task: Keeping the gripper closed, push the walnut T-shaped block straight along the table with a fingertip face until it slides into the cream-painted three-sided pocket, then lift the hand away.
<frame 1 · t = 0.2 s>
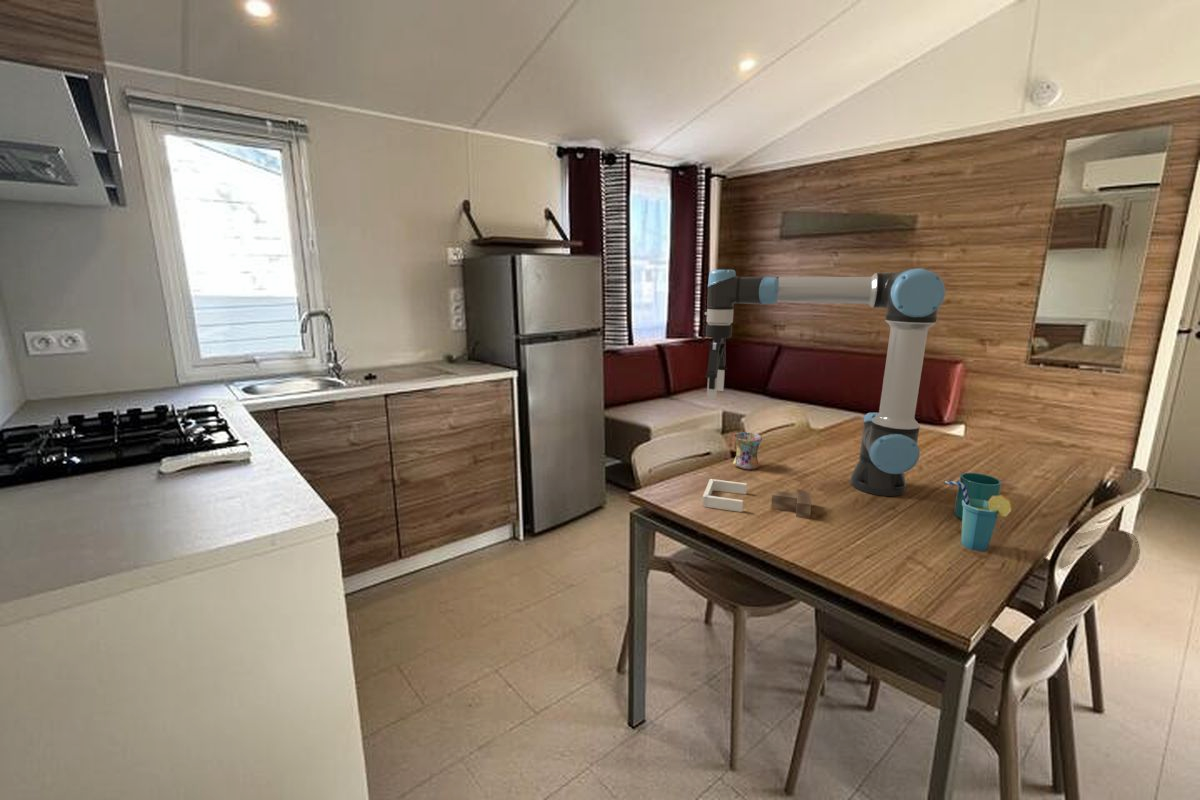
hand: (715, 395, 164), 28 cm above the table, fingers open, 13 cm apart
cup 2: (974, 517, 147), on the table
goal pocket: (726, 499, 156), on the table
t block: (790, 508, 151), on the table
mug: (744, 465, 185), on the table
cup: (969, 545, 131), on the table
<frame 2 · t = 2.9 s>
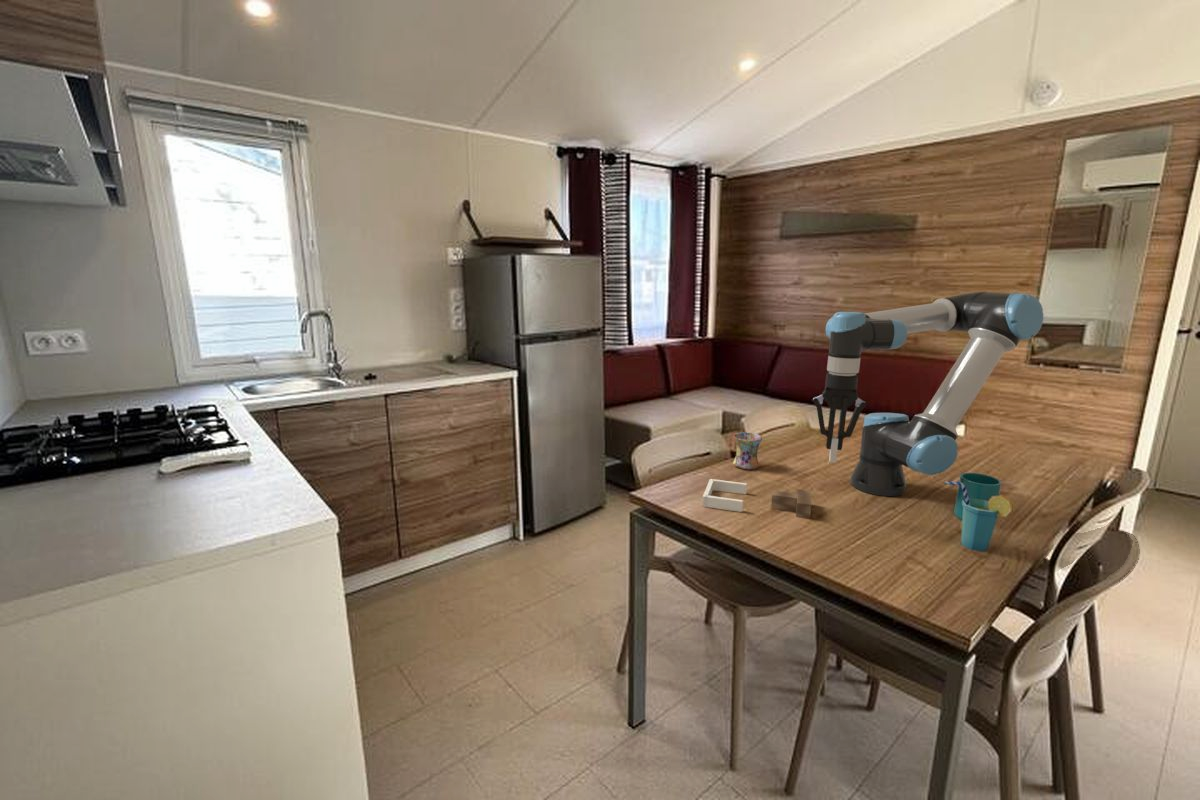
hand: (832, 460, 144), 15 cm above the table, fingers closed
nothing on the table moved.
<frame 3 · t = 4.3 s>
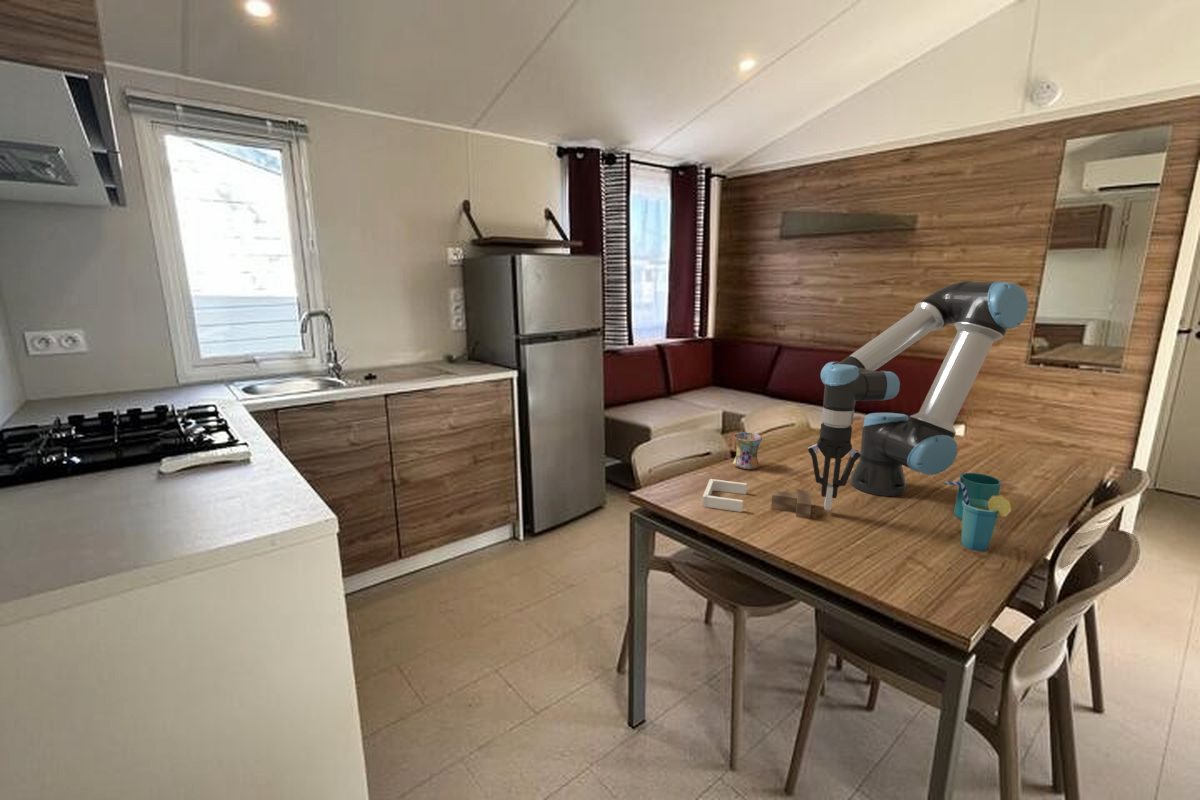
hand: (827, 507, 147), 2 cm above the table, fingers closed
nothing on the table moved.
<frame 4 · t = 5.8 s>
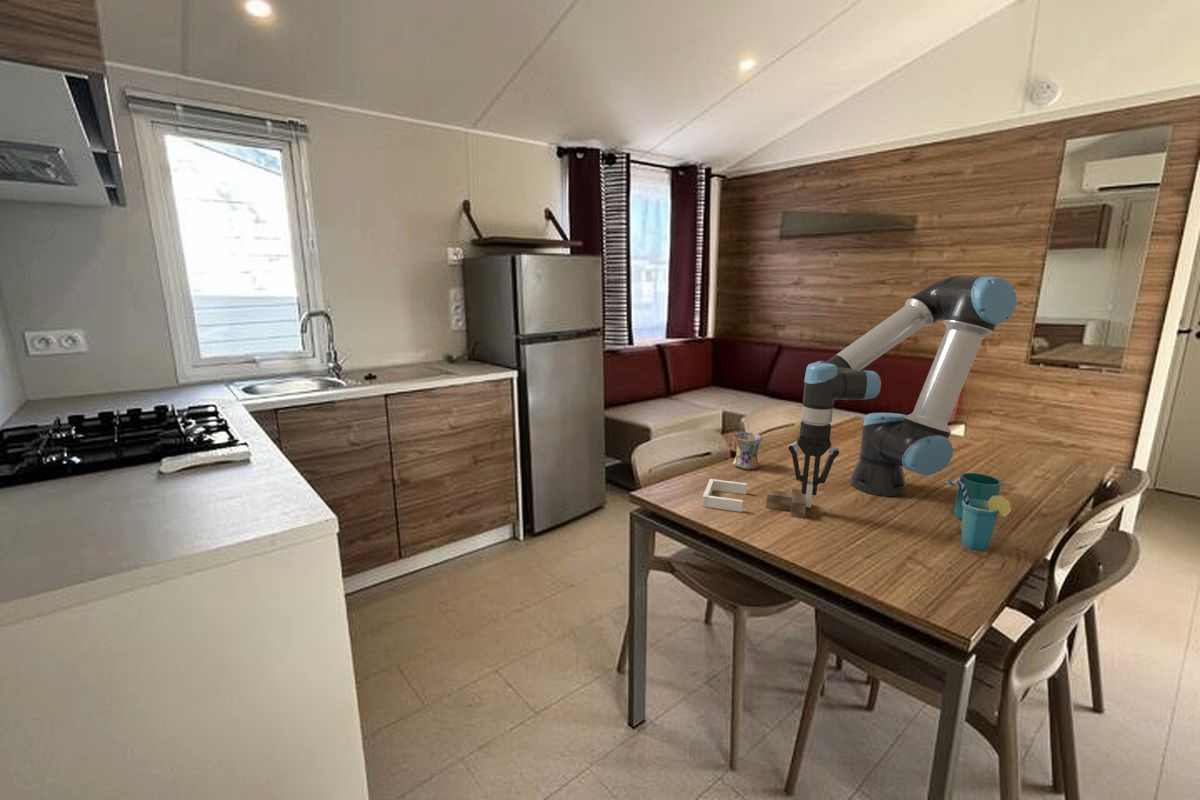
hand: (807, 505, 149), 2 cm above the table, fingers closed
t block: (785, 507, 151), on the table, touching gripper
everything else where it was.
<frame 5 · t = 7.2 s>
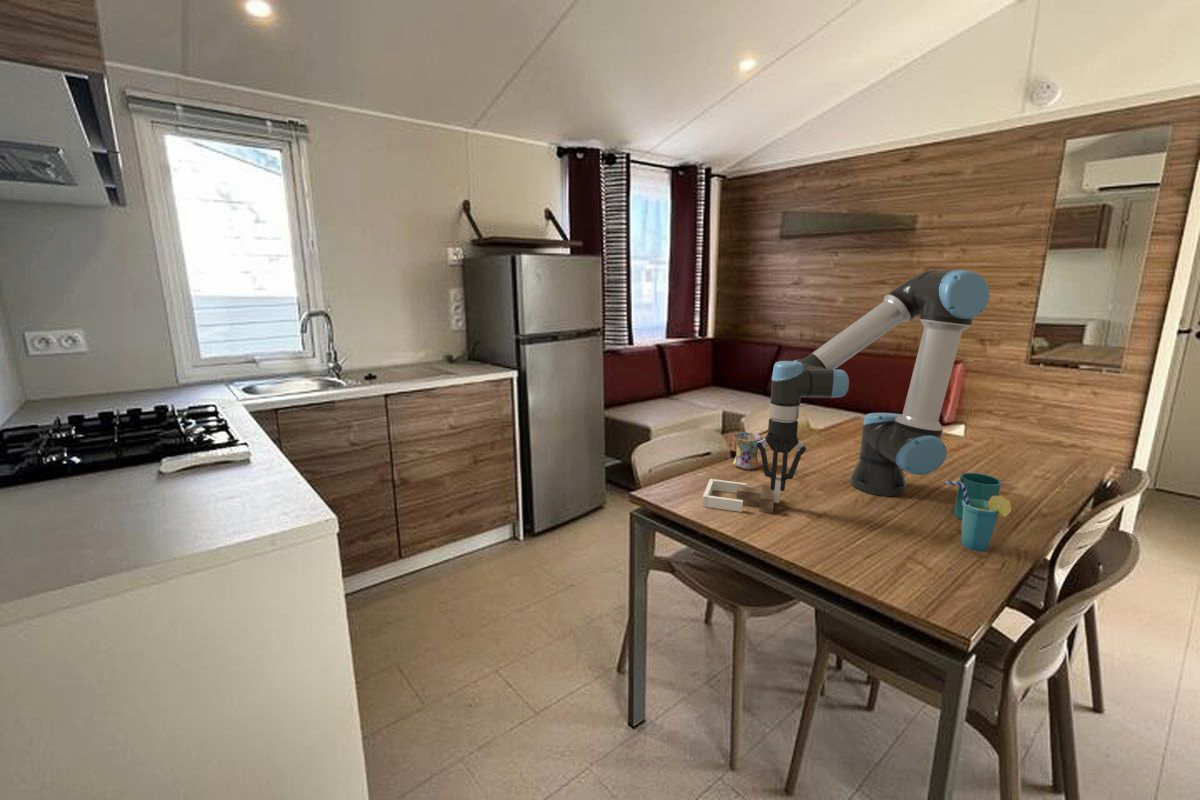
hand: (776, 500, 151), 2 cm above the table, fingers closed
t block: (754, 503, 154), on the table, touching gripper
everything else where it was.
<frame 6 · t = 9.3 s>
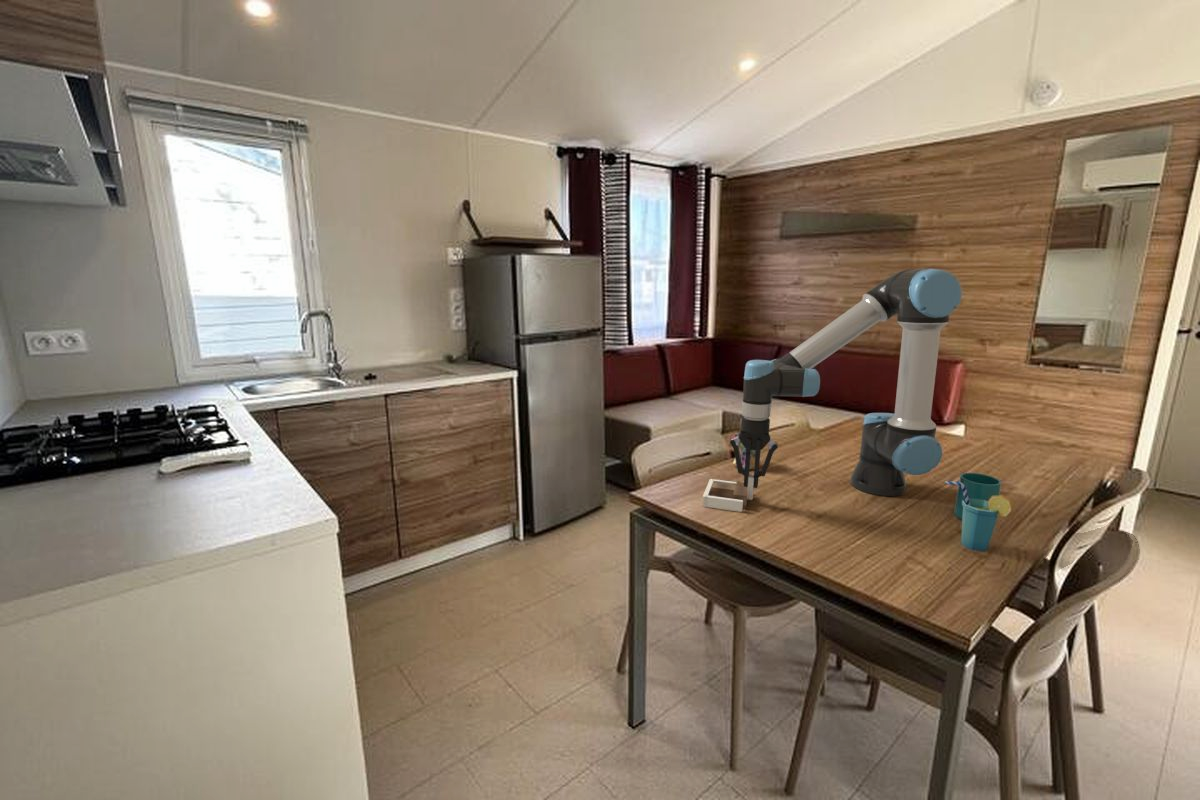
hand: (749, 497, 154), 2 cm above the table, fingers closed
t block: (728, 500, 156), on the table, touching gripper
everything else where it was.
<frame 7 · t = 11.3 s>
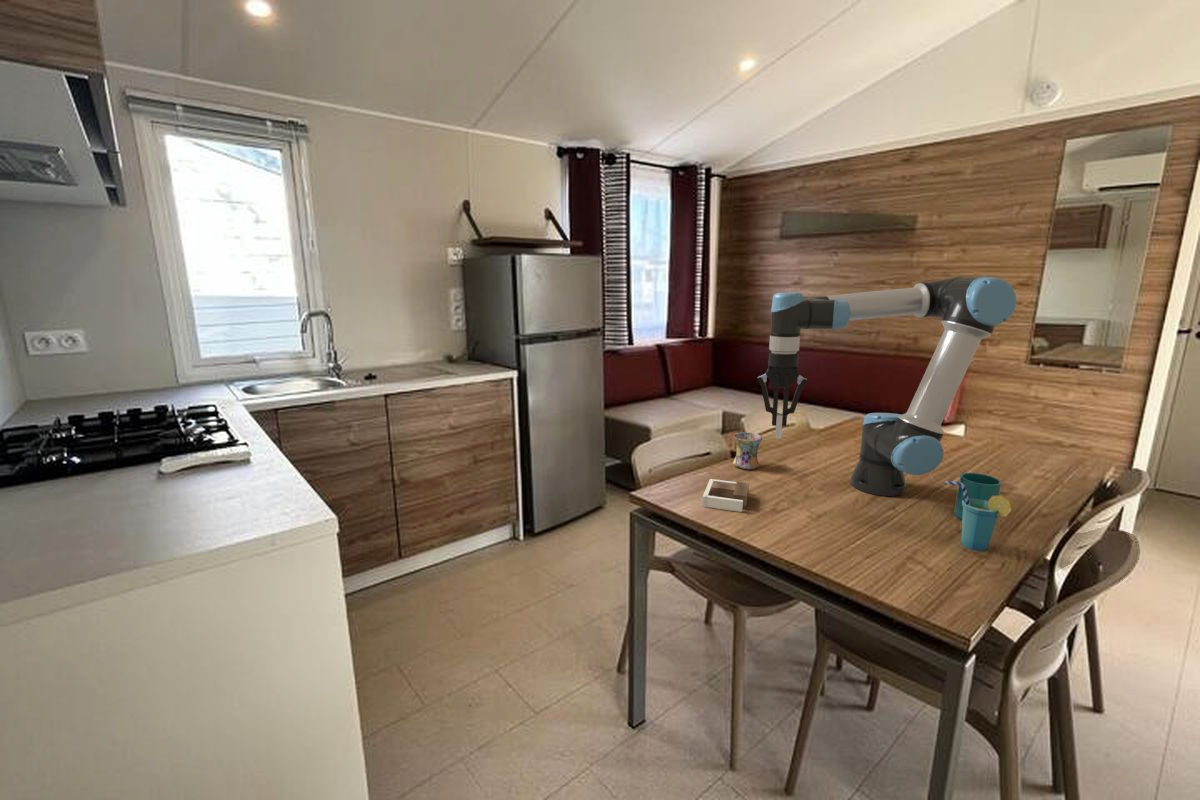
hand: (778, 437, 150), 20 cm above the table, fingers closed
t block: (728, 500, 156), on the table
everything else where it was.
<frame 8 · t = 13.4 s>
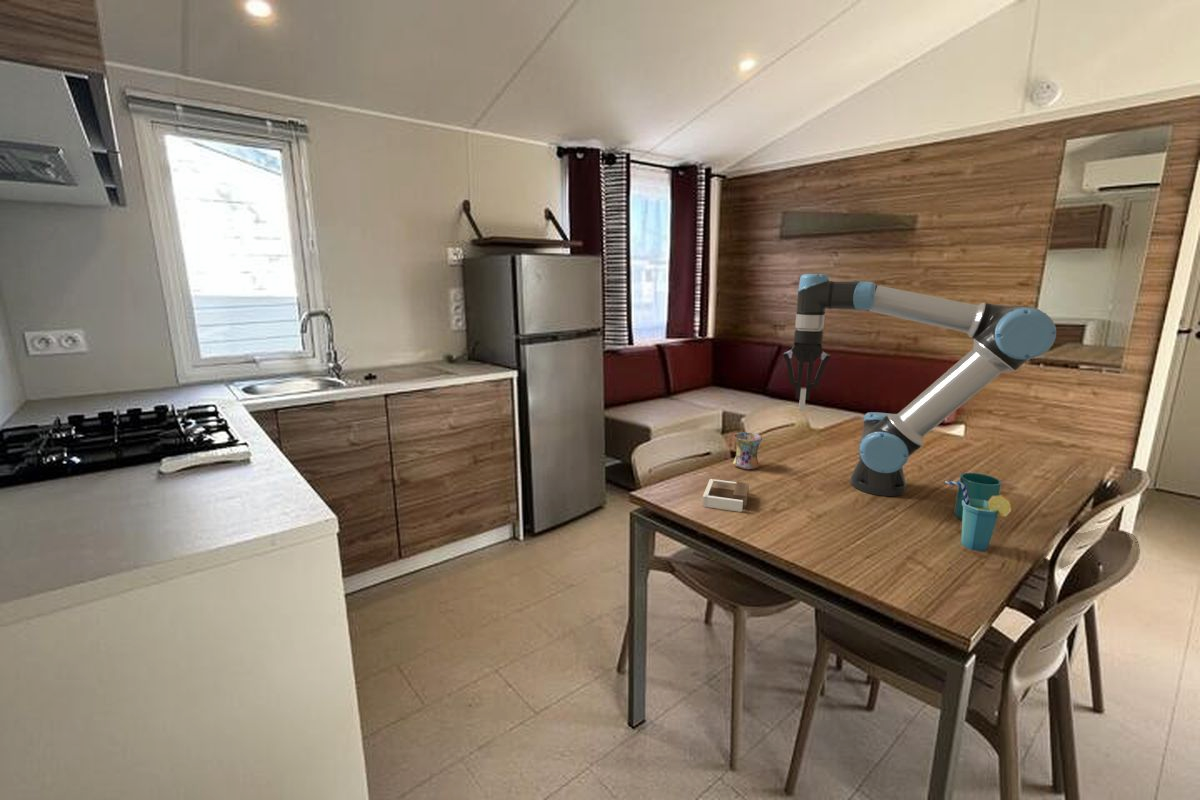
hand: (801, 410, 160), 24 cm above the table, fingers closed
nothing on the table moved.
at the end: t block inside the target area (0.8 cm from its centre), on the table; t block moved 16.7 cm from its start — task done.
